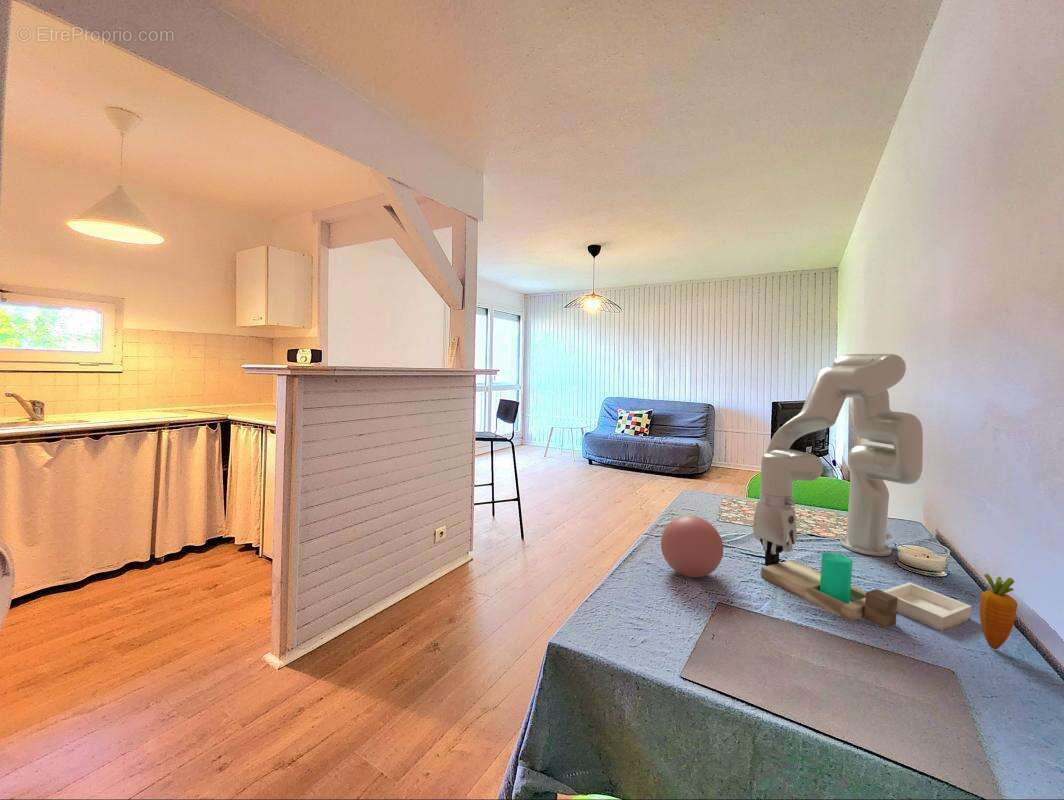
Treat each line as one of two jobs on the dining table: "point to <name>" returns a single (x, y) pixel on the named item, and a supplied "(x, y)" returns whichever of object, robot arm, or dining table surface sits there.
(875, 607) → the block
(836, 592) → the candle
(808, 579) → the wooden slotted peg board
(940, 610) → the tray
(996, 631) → the carrot
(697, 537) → the brown egg
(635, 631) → the dining table surface
